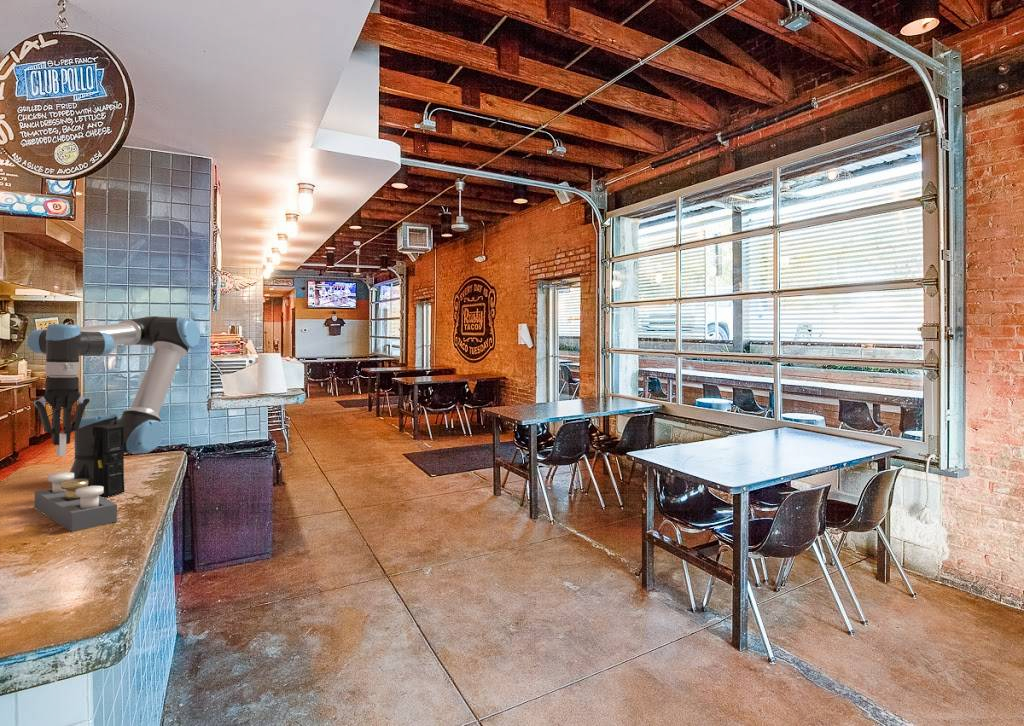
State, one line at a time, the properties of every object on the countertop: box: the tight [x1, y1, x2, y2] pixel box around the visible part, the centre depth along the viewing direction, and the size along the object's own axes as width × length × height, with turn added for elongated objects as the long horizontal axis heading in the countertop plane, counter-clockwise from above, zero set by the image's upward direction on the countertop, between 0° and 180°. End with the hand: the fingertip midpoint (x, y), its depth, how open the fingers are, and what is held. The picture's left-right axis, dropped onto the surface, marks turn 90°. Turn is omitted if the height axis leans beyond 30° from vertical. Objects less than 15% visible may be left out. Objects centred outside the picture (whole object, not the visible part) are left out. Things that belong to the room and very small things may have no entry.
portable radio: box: [92, 417, 125, 498], centre depth 169 cm, size 8×6×25 cm
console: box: [34, 488, 118, 532], centre depth 151 cm, size 10×30×5 cm, turn 56°
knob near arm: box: [47, 471, 74, 494], centre depth 157 cm, size 6×6×6 cm
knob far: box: [76, 485, 104, 510], centre depth 144 cm, size 6×6×6 cm
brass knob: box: [61, 479, 88, 501], centre depth 150 cm, size 6×6×6 cm
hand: (61, 455), depth 156 cm, fingers closed
